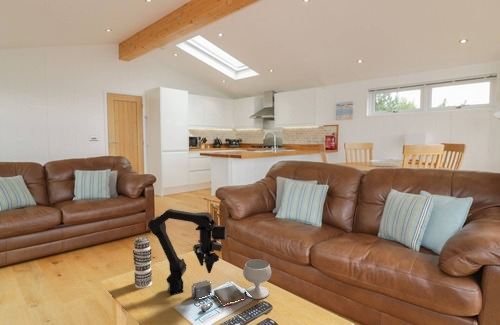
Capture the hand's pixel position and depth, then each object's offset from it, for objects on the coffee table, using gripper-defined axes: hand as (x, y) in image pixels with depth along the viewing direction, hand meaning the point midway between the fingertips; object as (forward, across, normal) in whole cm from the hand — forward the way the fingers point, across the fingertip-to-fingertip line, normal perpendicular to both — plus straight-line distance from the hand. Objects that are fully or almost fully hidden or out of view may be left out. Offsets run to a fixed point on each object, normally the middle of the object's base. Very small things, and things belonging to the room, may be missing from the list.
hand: (205, 269), depth 144 cm
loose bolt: (+12, -13, +4) cm, 18 cm away
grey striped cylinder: (+13, +25, +24) cm, 37 cm away
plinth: (+12, -10, -8) cm, 18 cm away
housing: (+12, -2, +3) cm, 13 cm away
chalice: (+12, -14, -22) cm, 29 cm away
